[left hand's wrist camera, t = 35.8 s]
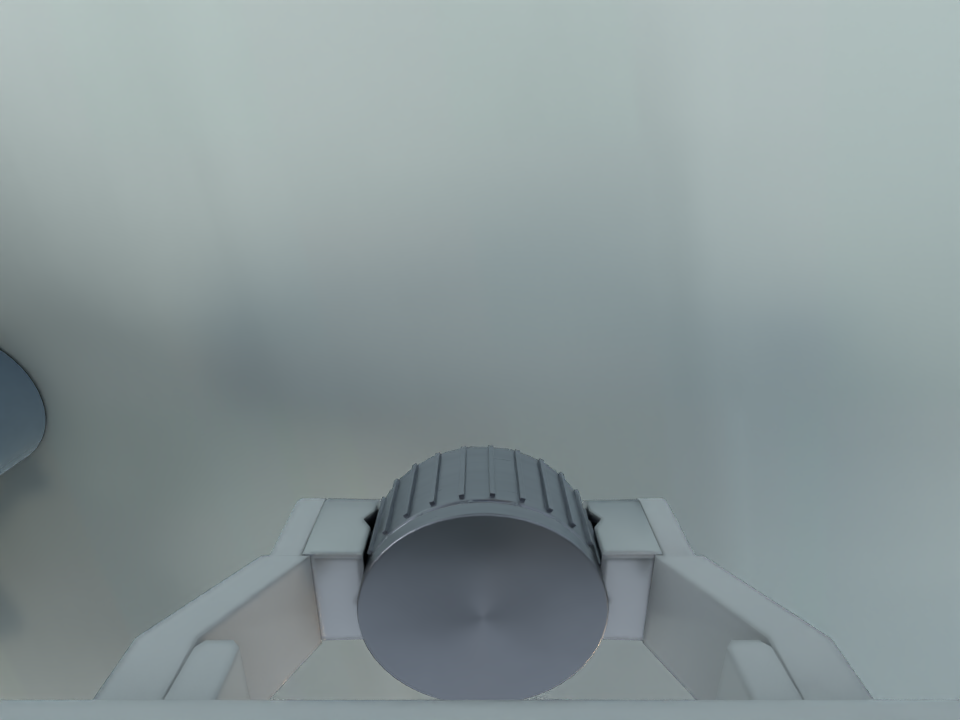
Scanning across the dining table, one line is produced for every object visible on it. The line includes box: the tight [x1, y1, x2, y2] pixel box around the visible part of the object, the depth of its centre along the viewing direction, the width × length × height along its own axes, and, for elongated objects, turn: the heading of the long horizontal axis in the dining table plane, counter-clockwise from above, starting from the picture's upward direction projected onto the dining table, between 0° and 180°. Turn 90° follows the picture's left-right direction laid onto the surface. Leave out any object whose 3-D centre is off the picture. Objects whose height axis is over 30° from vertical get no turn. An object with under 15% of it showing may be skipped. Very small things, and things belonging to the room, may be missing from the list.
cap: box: [357, 445, 609, 700], centre depth 10 cm, size 4×4×2 cm
